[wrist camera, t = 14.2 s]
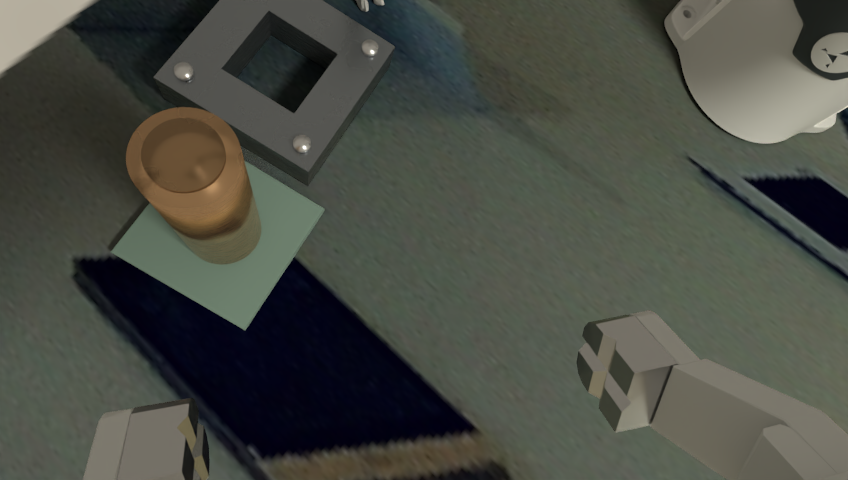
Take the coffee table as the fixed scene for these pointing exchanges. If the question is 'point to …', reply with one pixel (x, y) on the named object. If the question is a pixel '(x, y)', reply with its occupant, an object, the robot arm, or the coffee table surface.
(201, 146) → the copper plug
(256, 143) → the housing
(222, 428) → the coffee table surface
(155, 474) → the robot arm
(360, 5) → the human figurine
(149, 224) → the mat
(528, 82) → the coffee table surface
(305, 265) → the coffee table surface
